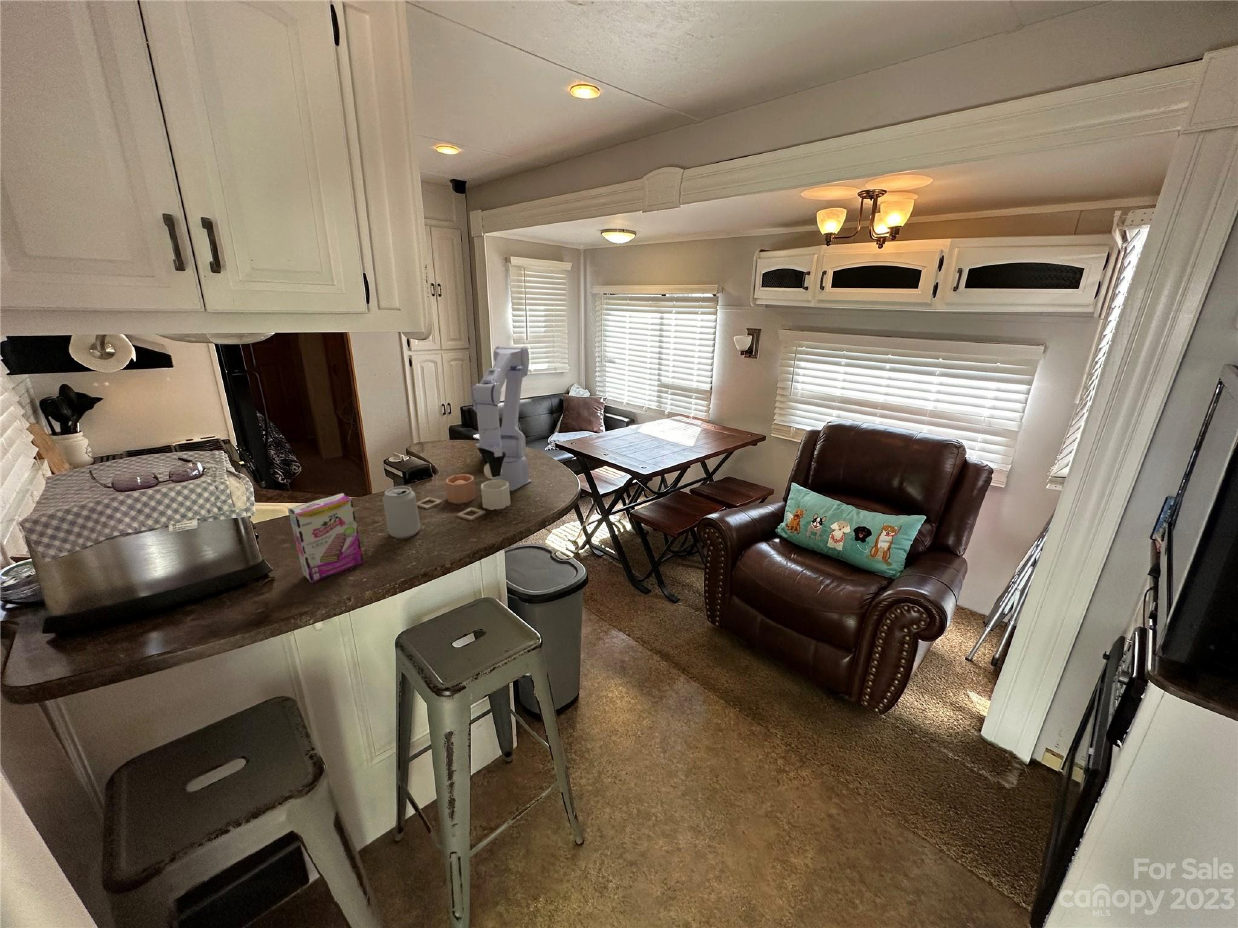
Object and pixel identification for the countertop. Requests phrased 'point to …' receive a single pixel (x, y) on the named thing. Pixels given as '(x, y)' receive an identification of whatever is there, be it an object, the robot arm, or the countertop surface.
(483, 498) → the white cup
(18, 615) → the countertop surface
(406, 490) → the can
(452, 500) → the terracotta round cup
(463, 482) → the terracotta ball
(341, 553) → the candy bar box
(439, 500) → the stand
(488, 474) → the cream ball
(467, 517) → the stand
